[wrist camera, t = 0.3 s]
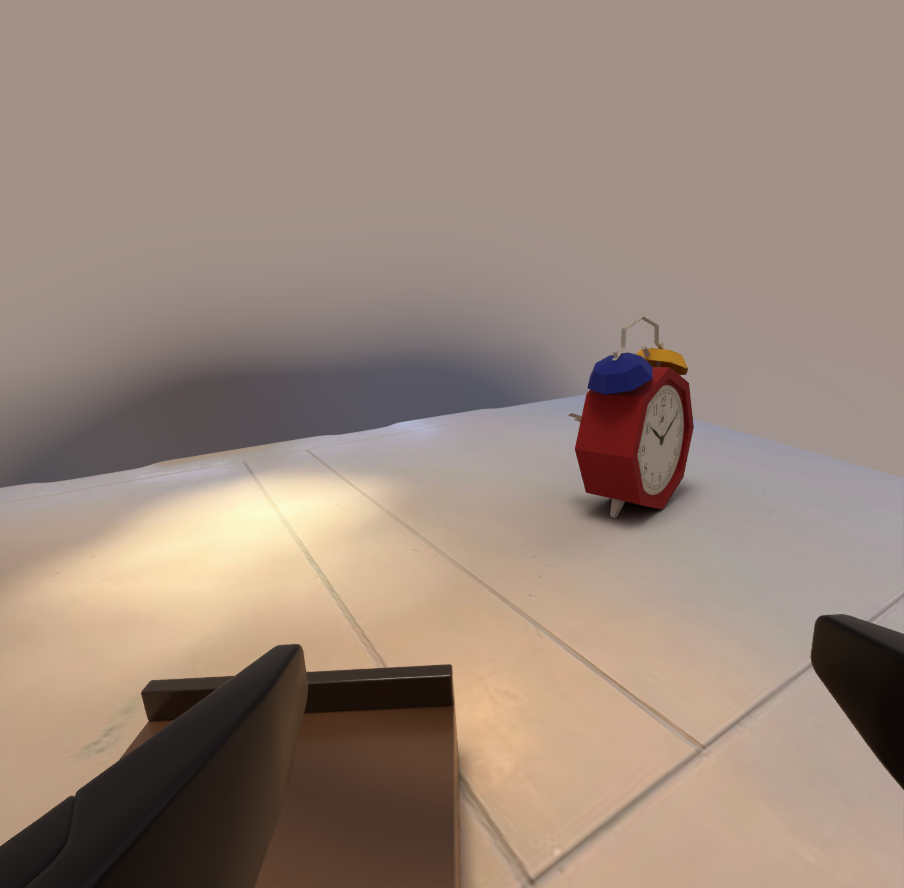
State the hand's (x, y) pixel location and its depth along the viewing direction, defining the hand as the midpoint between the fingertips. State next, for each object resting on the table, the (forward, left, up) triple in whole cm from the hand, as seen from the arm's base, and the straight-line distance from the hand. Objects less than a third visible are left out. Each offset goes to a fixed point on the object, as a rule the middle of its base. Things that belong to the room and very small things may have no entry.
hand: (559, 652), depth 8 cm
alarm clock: (+43, -17, -15) cm, 48 cm away
